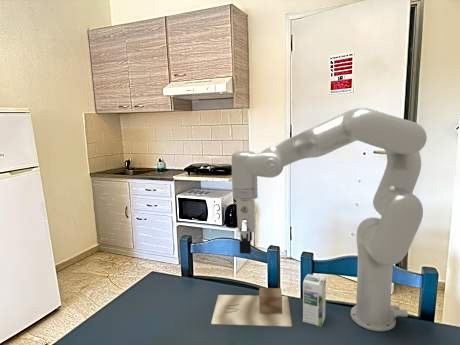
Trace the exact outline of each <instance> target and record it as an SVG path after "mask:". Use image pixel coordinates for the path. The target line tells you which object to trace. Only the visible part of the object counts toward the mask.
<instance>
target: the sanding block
mask: <svg viewBox="0 0 460 345" xmlns="http://www.w3.org/2000/svg"><path fill="white" fill-rule="evenodd" d="M258 290H259V291H258V296H259V310H260V314H274V315H282V296H283V294H282V288H280V287H279V288H278V287H277V288H276V287H275V288H273V287H259V289H258Z"/></svg>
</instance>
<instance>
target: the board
mask: <svg viewBox="0 0 460 345" xmlns="http://www.w3.org/2000/svg"><path fill="white" fill-rule="evenodd" d="M210 324H211V325H231V326H232V325H234V326H260V327H261V326H262V327H263V326H265V327H267V326H268V327H293V324H292V316H291V310H290V303H289V296H287V295H286V296H285V295H282V315H274V314H260V310H259V295H249V294H248V295H244V294H243V295H241V294H240V295H239V294H238V295H237V294H218V295H217V299H216V302H215V306H214V310H213V315H212V319H211V323H210Z"/></svg>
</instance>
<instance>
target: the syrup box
mask: <svg viewBox="0 0 460 345" xmlns="http://www.w3.org/2000/svg"><path fill="white" fill-rule="evenodd" d="M326 286H327V278H326V277H325V276H319V275H315V274H310V273H307V275H305V277H304V279H303V282H302V323H305V324H309V325H313V326H317V327H320V328H321V327H323V324H324V321H325V320H326V303H327V302H326V301H327V300H326V297H327V296H326V294H327V293H326V292H327V291H326V290H327V289H326V288H327V287H326Z"/></svg>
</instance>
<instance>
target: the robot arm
mask: <svg viewBox="0 0 460 345" xmlns="http://www.w3.org/2000/svg"><path fill="white" fill-rule="evenodd" d="M427 138H428V136H427V133H426V130H425V129H424V128H423V126H422V125H420V124H419V123H417V122H414V121H412V120H408V119H404V118H402V117H397V116H395V115H391V114H387V113H385V112H381V111H378V110H375V109H371V108H369V107H368V108H365V107H363V108H361V107H360V108H353V109H349V110H346V111H345V112H343V113H341V114H338V115H336V116H334V117H332V118H330V119H327V120H326V121H324V122H321V123H319V124H317V125H315V126H313V127H310V128H308V129H307V130H304V131H301V132H300V133H298V134H295V135H293V136H291V137H289V138H287V139H284V140H282V141H280V142H278V143H276V144H274V145H272V146H269V147H267V148H265V149H264V150H262V151H260V152H257V153H256V152H254V151H251V150H241V151H240V150H239V151H235V152H233V153H232V154H231V183H232V184H231V185H232V186H231V187H232V188H231V189H232V198H233V200H235V201H236V219H237V221H236V223H237V230H238V232H239V235H240V236H239V237H240V238H239V254H246V255H247V254H248V255H249V254H251V253H252V244H251V242H252V240H253V233H255V231H256V230H255V229H256V207H255V204H256V203H255V200H256V199H258V177H261V178H262V177H263V178H269V179H271V178H276V177H278V176H279V175H281V173H282V172H283V170H284V167H286V166H288V165H291V164H293V163H295V162H298V161H302V160H304V159H312V158H319V157H323V156H325V155H327V154H330V153H332V152H334V151H336V150H338V149H340V148H342V147H345V146H348V145H351V144H353V143H354V142H361V143H364V144H367V145H369V146H372V147H376V148H378V149H381V150H382V149H383V150H384V152H385V154H386V166H385V170H384V172H383V175H382V177H381V180H380V182H379V185H378V187H377V189H376V191H375V194H374V196H373V200H372V205H373V208H374V210H375V211H376V212H377V213H378V214H379V215H380V218H378V217H368V218H365V219H363V220H362V221H361V222H360V223H359V224H358V227H357V229H356V247H357V249H356V250H357V270H356V271H357V273H356V274H357V275H356V276H357V277H356V301H355V302H356V304H355V305H354V306H353V307H351V310H350V317H351V320H352V321H353V322H354V323H356V324H357V325H358V326H360V327H362V328H364V329H366V330H368V331H369V330H370V331H373V332H386V331H390V330H393V329H394V328H395V327H396V323H397V322H396V318H398V317H404V318H405V317H408V314H409V313H408V311H407V309H400V306H399V305H392V304H391V302H392V290H393V289H392V288H393V285H392V284H393V274H394V273H393V271H394V270H393V269H394V268H393V267H394V265H397V264H399V263H400V262H401V261H402V260H403V259H404V258H405V257H406V255H407V254H408V252H409V250H410V247H412V246H411V245H412V243H413V241H414V239H415V236H416V235H417V233H418V230H419V228H420V225H421V223H422V220H423V217H424V216H423V215H424V208H423V204H422V202H421V200H420V199H419V198H418V197H417V196H416V195H415V194H413V192H414V190H415V188H416V184H417V182H418V179H419V176H420V173H421V169H422V168H421V167H422V158H421V152H420V151H421V150H423V148H425V146H426V143H427Z"/></svg>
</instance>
